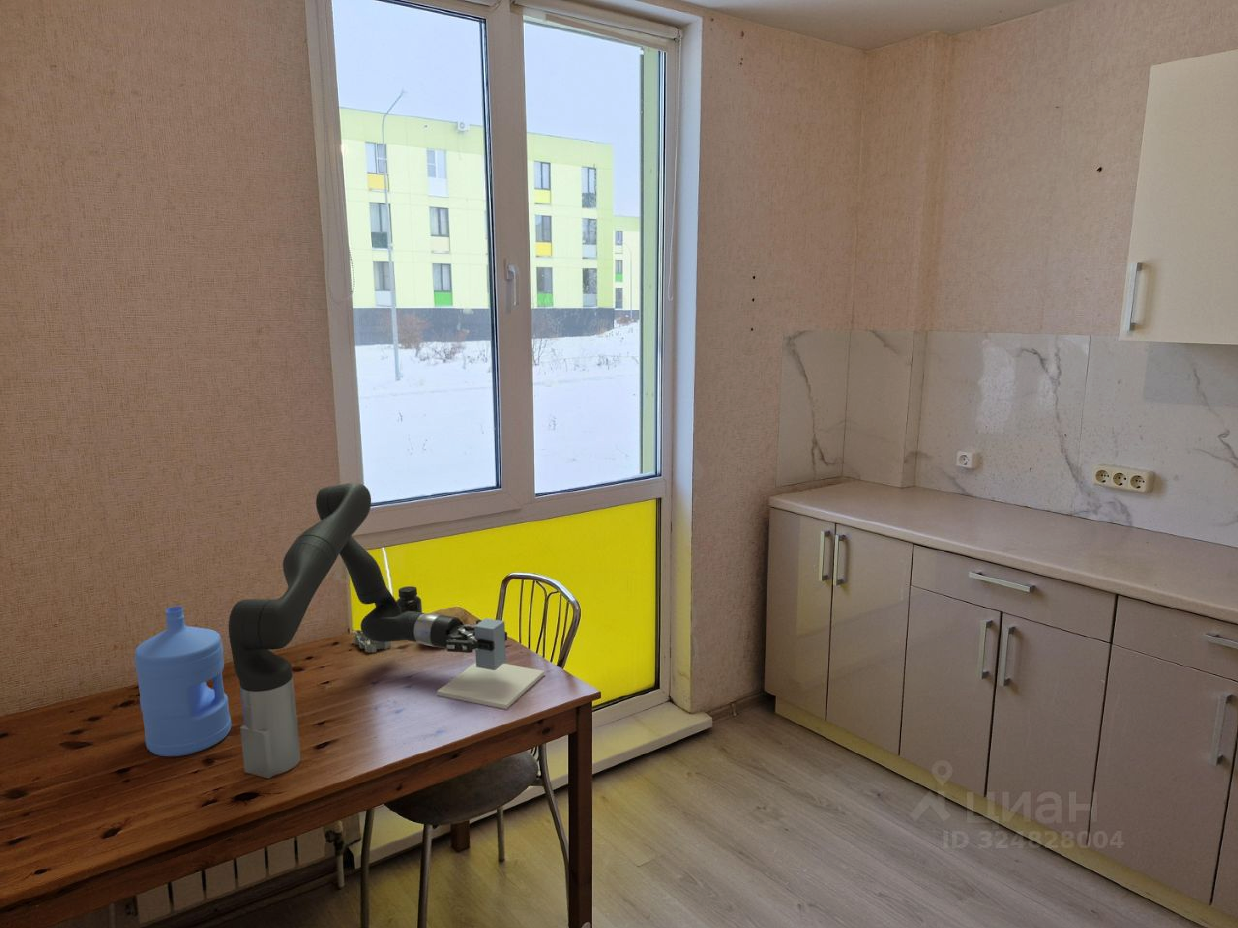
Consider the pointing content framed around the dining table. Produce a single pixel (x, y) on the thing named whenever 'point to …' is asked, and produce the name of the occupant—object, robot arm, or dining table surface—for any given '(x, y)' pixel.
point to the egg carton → (369, 642)
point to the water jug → (182, 688)
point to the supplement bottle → (409, 599)
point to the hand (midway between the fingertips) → (500, 641)
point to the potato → (454, 613)
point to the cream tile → (491, 685)
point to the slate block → (492, 632)
